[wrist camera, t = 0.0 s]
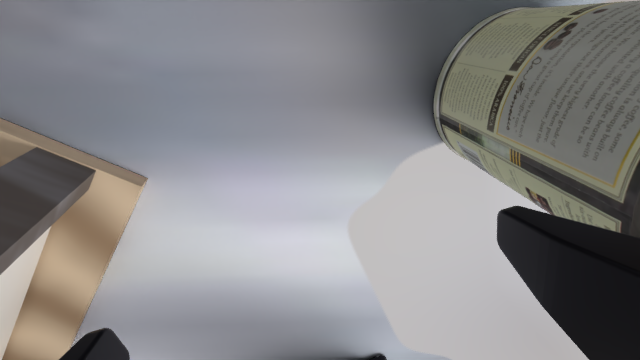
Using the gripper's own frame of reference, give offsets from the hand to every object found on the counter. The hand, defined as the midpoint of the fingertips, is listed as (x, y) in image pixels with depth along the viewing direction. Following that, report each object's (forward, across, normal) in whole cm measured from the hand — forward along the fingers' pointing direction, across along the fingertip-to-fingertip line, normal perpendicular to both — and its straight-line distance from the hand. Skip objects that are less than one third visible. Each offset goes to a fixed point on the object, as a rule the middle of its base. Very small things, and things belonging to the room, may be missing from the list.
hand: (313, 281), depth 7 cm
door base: (+15, +20, +7) cm, 26 cm away
